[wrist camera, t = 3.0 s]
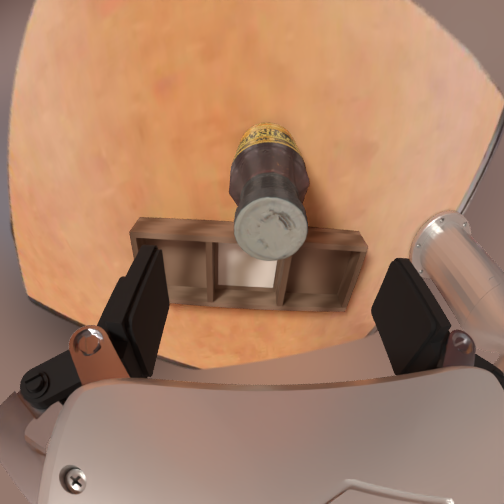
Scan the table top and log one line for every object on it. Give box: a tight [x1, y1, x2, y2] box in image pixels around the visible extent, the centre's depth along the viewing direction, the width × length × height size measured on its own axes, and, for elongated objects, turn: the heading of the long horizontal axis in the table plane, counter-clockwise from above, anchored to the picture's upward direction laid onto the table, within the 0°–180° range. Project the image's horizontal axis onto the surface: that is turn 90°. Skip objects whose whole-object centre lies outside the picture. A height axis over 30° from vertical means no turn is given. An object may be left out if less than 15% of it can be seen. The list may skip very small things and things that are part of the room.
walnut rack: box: [129, 217, 368, 312], centre depth 39 cm, size 30×12×4 cm, turn 86°
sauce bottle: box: [229, 123, 309, 261], centre depth 23 cm, size 7×6×20 cm
